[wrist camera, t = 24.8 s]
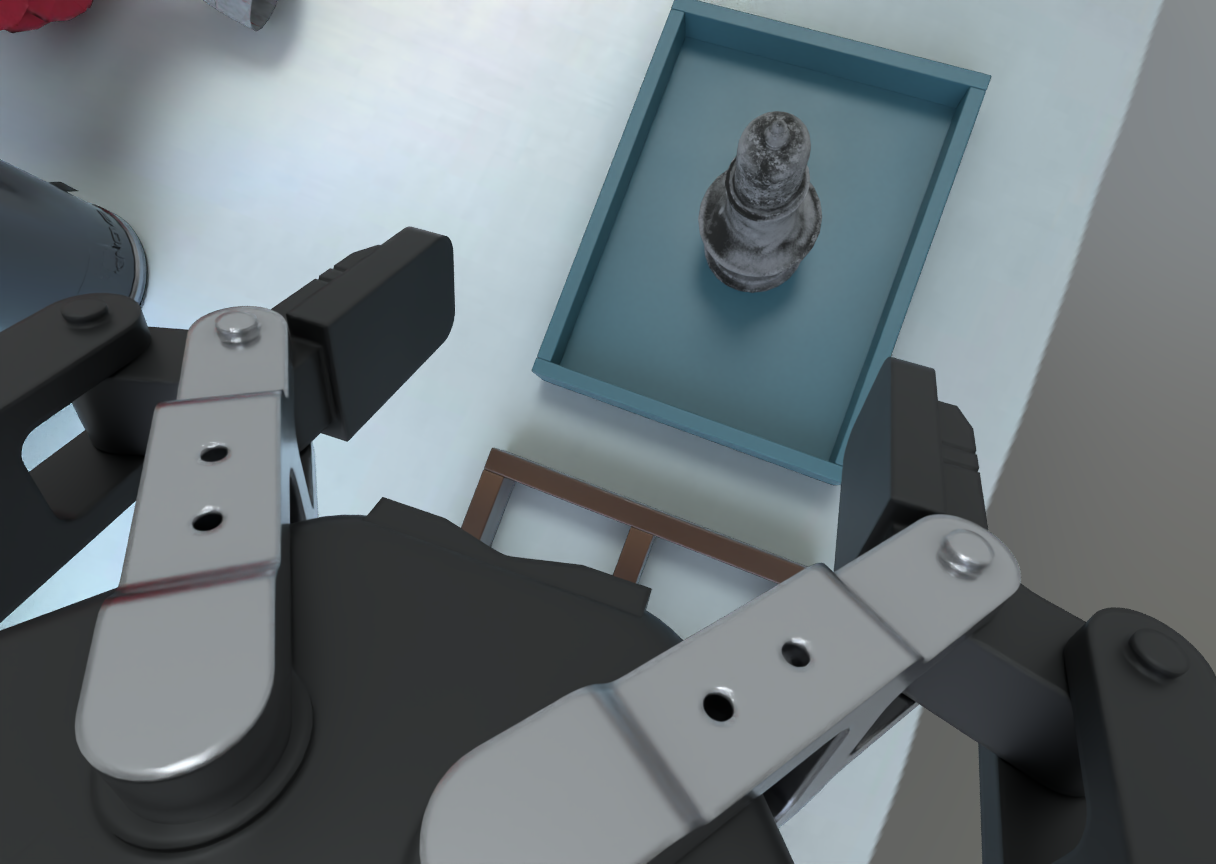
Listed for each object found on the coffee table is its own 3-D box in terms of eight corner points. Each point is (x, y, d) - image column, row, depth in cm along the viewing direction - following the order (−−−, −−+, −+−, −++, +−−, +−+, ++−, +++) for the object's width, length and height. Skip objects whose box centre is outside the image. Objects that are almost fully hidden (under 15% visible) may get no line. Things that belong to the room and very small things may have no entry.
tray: (834, 485, 35) (845, 484, 33) (542, 379, 38) (530, 371, 36) (971, 105, 37) (992, 75, 34) (677, 27, 39) (676, -6, 37)
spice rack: (695, 901, 34) (695, 932, 32) (387, 754, 37) (365, 772, 35) (814, 569, 35) (823, 574, 33) (505, 450, 38) (491, 447, 36)
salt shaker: (832, 224, 36) (895, 89, 24) (773, 318, 36) (808, 229, 24) (735, 172, 37) (751, 20, 25) (677, 264, 37) (667, 153, 25)
